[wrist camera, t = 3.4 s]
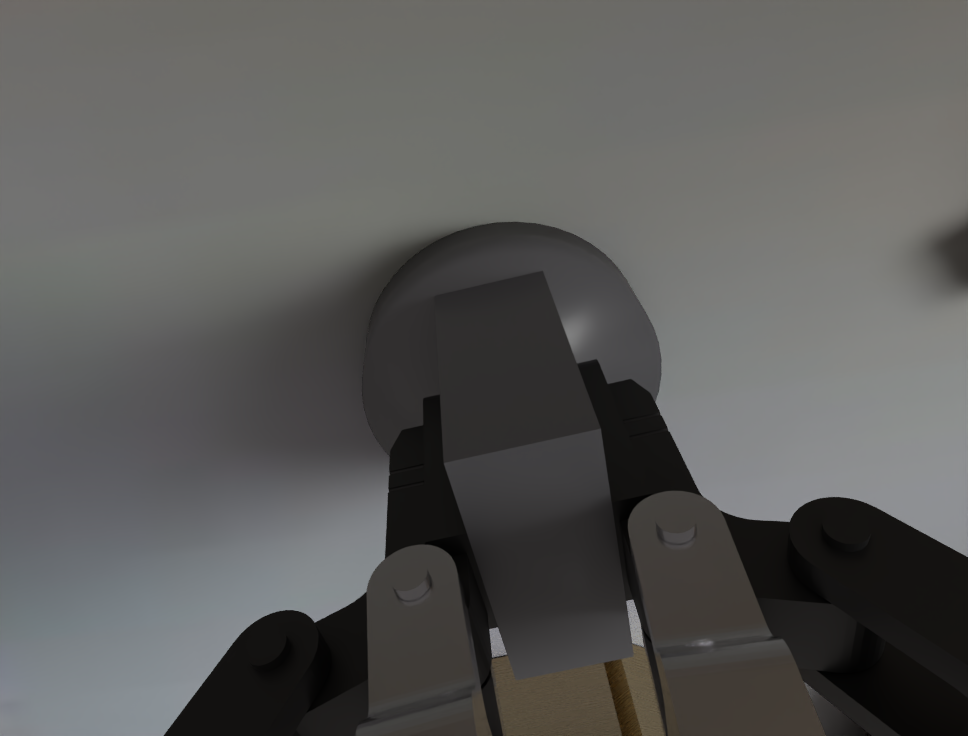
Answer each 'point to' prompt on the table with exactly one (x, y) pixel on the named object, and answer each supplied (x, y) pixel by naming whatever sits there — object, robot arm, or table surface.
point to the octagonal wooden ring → (581, 700)
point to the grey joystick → (520, 421)
